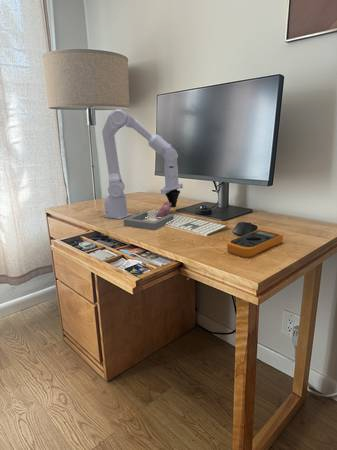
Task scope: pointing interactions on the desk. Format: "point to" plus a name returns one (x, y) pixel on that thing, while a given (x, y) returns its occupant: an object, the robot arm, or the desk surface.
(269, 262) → the desk surface
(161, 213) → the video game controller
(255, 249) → the multimeter
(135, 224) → the tray
